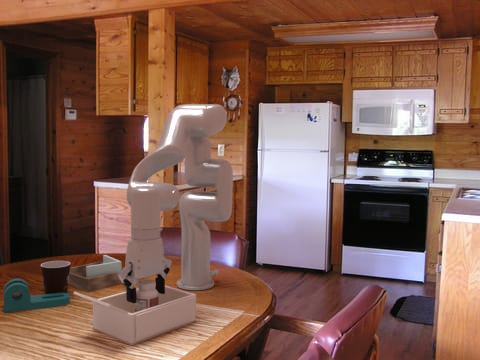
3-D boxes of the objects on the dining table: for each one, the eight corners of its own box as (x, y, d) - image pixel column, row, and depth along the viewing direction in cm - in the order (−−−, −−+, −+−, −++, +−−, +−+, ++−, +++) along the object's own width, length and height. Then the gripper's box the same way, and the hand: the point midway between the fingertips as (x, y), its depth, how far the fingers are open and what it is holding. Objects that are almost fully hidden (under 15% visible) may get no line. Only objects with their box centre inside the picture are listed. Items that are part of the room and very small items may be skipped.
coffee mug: (61, 301, 158) (61, 268, 157) (35, 299, 159) (34, 266, 158) (80, 290, 169) (80, 259, 168) (56, 288, 171) (55, 257, 170)
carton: (157, 307, 154) (157, 282, 153) (199, 321, 143) (199, 294, 142) (91, 328, 137) (90, 300, 136) (133, 346, 126) (133, 315, 125)
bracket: (4, 313, 147) (3, 286, 146) (3, 306, 153) (3, 279, 152) (71, 305, 155) (71, 279, 154) (68, 298, 161) (68, 273, 160)
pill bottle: (155, 317, 144) (156, 278, 143) (160, 325, 138) (161, 284, 137) (132, 320, 141) (132, 279, 140) (136, 328, 136) (137, 286, 135)
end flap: (92, 299, 135) (74, 291, 130) (128, 312, 125) (110, 304, 121) (91, 301, 134) (73, 293, 130) (127, 314, 125) (108, 306, 121)
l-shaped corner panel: (105, 275, 187) (105, 254, 187) (121, 283, 178) (121, 261, 177) (72, 281, 180) (72, 259, 179) (87, 289, 170) (87, 266, 170)
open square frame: (100, 272, 191) (100, 261, 190) (130, 281, 180) (130, 269, 180) (59, 281, 178) (59, 270, 177) (88, 291, 167) (88, 279, 167)
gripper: (161, 226, 146) (161, 286, 148) (109, 236, 133) (110, 302, 135) (179, 230, 142) (179, 292, 143) (128, 241, 128) (128, 309, 130)
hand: (146, 297), depth 139 cm, fingers open, 9 cm apart
